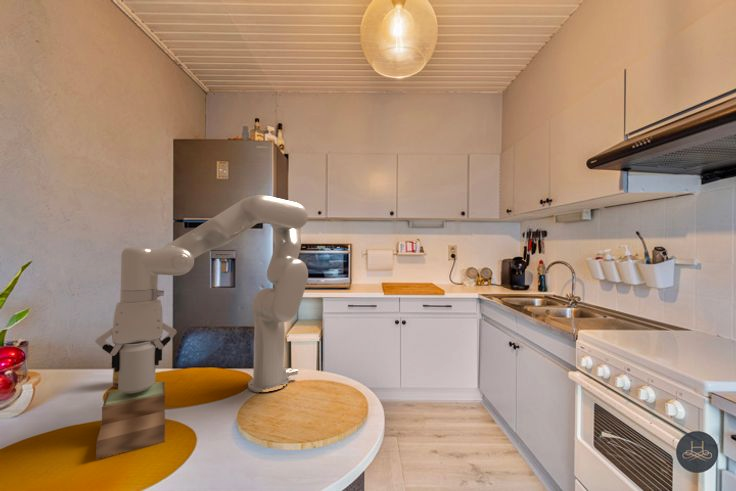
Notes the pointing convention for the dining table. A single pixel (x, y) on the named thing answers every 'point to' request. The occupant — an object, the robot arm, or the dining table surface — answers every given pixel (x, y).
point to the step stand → (132, 420)
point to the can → (136, 366)
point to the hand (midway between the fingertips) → (137, 366)
